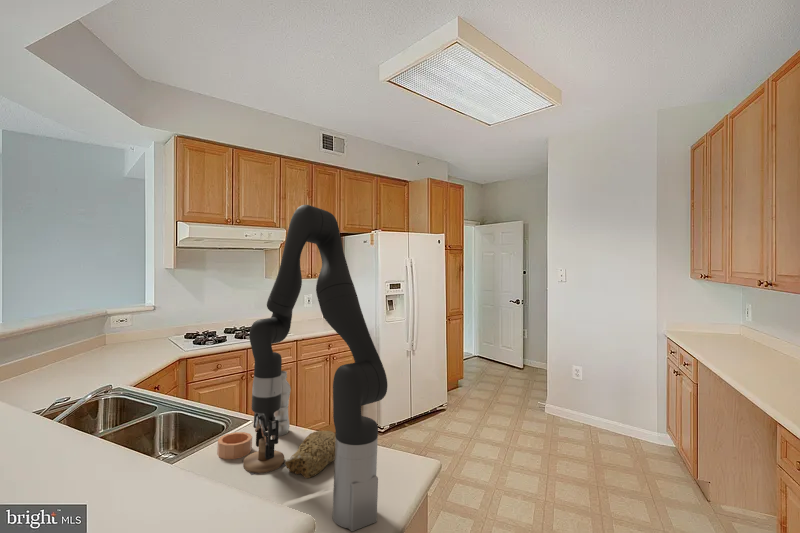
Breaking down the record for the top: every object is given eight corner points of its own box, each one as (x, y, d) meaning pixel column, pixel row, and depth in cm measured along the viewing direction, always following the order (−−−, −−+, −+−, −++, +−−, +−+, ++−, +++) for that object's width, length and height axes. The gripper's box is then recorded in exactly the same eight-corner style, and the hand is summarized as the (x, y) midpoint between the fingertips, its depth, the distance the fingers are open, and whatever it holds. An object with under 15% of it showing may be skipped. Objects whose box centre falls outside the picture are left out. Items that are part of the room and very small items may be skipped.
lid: (289, 466, 104) (290, 442, 104) (249, 476, 98) (250, 452, 98) (276, 451, 113) (277, 429, 113) (238, 460, 107) (239, 437, 107)
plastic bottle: (273, 440, 121) (276, 376, 122) (264, 433, 126) (267, 371, 127) (293, 435, 126) (295, 372, 126) (283, 428, 131) (285, 368, 131)
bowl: (254, 456, 111) (255, 440, 111) (221, 464, 105) (221, 447, 106) (246, 445, 118) (247, 430, 118) (214, 452, 113) (215, 436, 113)
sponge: (317, 489, 98) (357, 442, 116) (309, 460, 97) (350, 417, 115) (277, 485, 103) (321, 441, 121) (270, 457, 103) (315, 417, 121)
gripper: (289, 397, 102) (287, 459, 102) (272, 383, 114) (270, 439, 114) (260, 401, 98) (257, 466, 98) (245, 386, 110) (243, 445, 109)
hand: (264, 451), depth 106 cm, fingers open, 8 cm apart
